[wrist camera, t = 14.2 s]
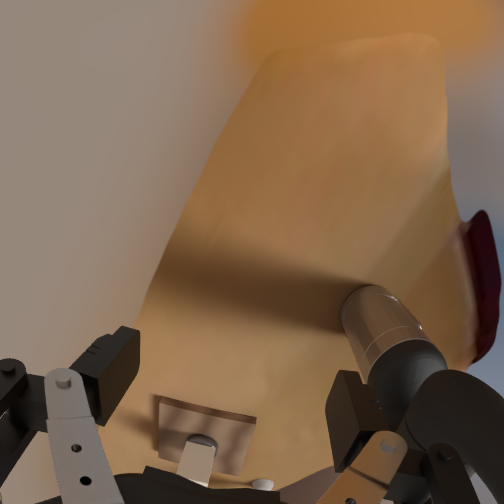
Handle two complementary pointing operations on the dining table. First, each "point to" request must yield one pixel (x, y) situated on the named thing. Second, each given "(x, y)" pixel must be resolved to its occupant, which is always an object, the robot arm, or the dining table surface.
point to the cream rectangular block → (196, 463)
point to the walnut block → (204, 433)
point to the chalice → (263, 484)
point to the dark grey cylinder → (203, 441)
